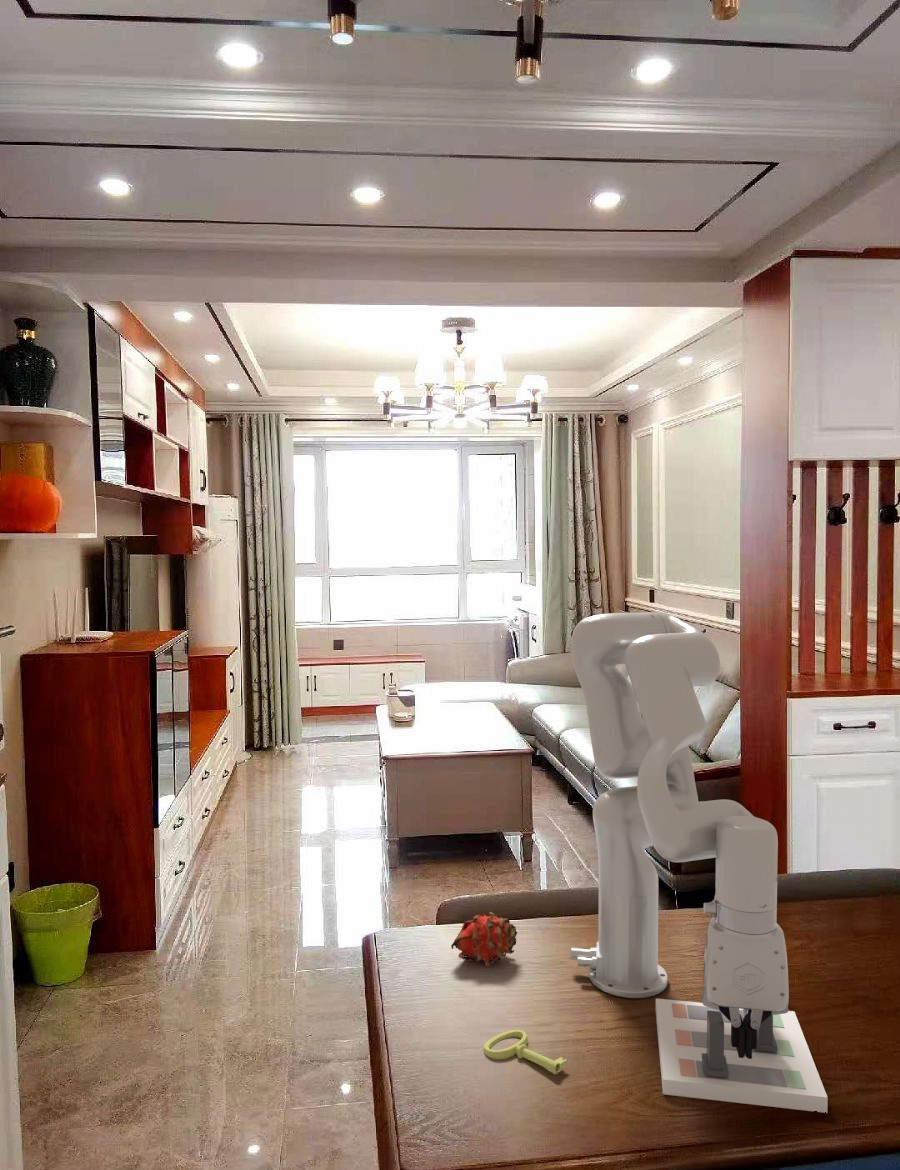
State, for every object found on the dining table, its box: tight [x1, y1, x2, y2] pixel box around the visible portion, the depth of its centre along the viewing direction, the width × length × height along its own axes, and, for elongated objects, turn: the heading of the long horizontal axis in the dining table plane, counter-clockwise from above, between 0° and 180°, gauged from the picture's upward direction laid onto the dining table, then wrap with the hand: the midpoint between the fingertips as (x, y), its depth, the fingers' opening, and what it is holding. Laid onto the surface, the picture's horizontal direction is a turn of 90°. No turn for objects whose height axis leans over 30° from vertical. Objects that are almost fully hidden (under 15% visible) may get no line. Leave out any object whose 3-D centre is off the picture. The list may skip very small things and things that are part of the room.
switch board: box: [655, 998, 829, 1114], centre depth 118 cm, size 20×20×2 cm
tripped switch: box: [702, 1010, 729, 1078], centre depth 112 cm, size 3×4×7 cm
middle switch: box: [754, 1015, 777, 1052], centre depth 117 cm, size 3×4×7 cm
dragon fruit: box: [450, 911, 519, 967], centre depth 146 cm, size 8×8×12 cm
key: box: [482, 1029, 568, 1074], centre depth 120 cm, size 7×12×2 cm, turn 61°
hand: (743, 1052), depth 111 cm, fingers closed
